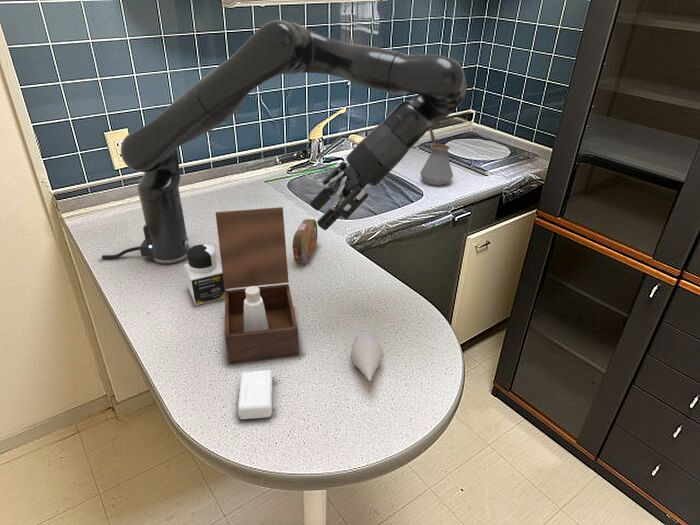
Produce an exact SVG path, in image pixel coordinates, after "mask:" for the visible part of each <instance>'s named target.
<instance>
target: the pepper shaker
mask: <svg viewBox="0 0 700 525" xmlns="http://www.w3.org/2000/svg"><path fill="white" fill-rule="evenodd" d="M258 287H259V286H250V287H245V288H246V290H245V293H246V299H245V300H244V328H243V332H250V331H258V330H267V329H269V327H268V322H267V317H266V313H265V308H264V303H263V300H262V298H261V297H260V293H259V292H260V289H259V288H258Z"/></svg>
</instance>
